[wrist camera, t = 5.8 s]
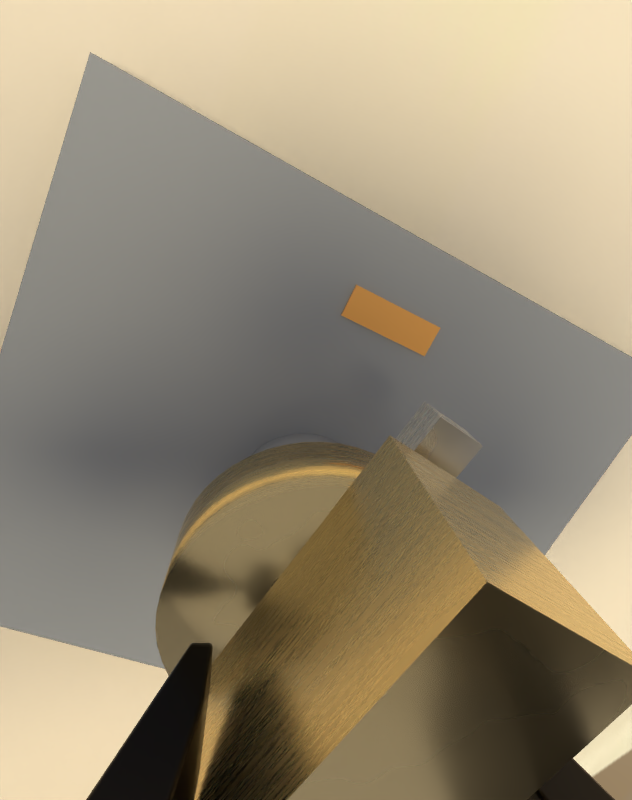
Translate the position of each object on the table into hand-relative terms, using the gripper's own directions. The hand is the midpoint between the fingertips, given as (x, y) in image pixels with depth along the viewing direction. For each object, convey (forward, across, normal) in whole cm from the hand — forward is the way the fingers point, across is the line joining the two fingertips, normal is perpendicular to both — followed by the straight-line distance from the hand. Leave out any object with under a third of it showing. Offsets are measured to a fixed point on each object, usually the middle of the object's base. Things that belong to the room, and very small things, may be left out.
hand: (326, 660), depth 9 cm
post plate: (+8, 0, 0) cm, 8 cm away
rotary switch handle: (+3, 0, 0) cm, 3 cm away
